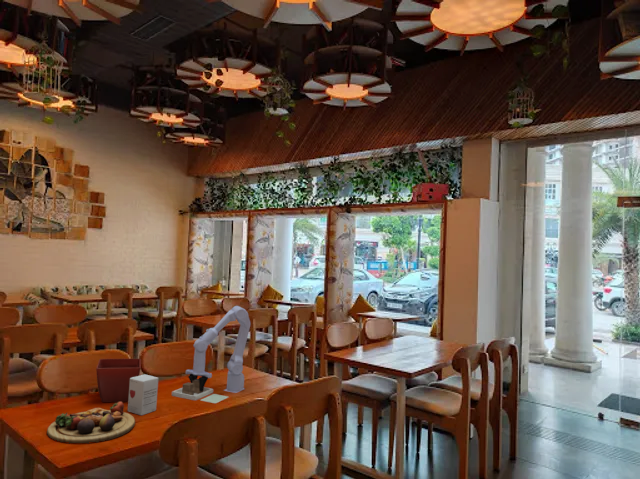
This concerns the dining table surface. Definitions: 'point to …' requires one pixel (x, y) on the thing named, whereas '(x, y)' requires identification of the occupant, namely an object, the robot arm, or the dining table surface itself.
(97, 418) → the wooden plate with food
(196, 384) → the labelled block
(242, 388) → the robot arm
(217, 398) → the sage mat
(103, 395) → the plant pot
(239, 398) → the dining table surface
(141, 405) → the supplement box
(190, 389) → the plain block
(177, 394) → the parts tray
